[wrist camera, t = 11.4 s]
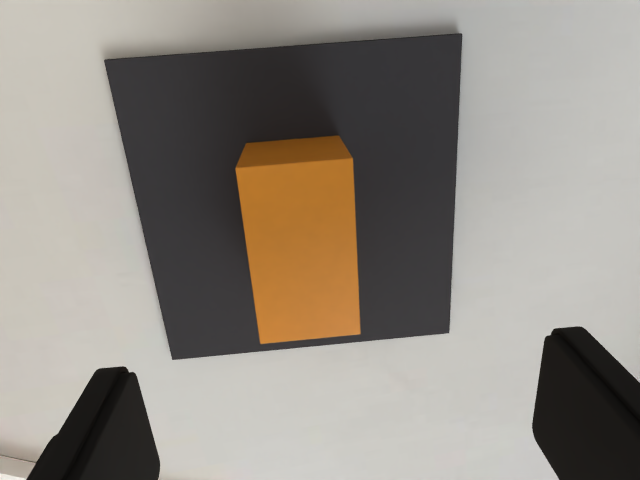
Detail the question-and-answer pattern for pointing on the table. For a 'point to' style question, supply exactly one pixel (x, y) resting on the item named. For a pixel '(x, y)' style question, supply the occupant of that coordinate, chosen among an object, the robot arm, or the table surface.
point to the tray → (14, 468)
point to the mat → (284, 124)
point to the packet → (300, 237)
